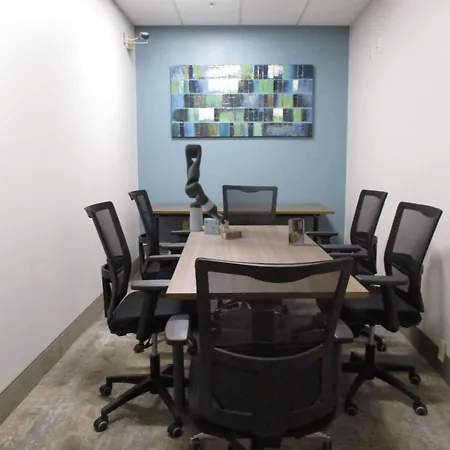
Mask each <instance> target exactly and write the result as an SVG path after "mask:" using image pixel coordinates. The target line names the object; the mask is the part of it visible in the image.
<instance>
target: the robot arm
mask: <svg viewBox="0 0 450 450" xmlns="http://www.w3.org/2000/svg"><path fill="white" fill-rule="evenodd" d="M202 154H203V149H202V145H201V144H197V143H195V144H191V143H190V144H186V145H185V146H184V155H185V162H186V177H187V180H186V183H185V186H184V191H185V195H187V196H188V198H189V199H195V201H194V202H191V203H190V204H189V231H192V232H201V231H202V232H203V230H204V219H203V217H204V216H203V210H204V212H205V213H206V214H207V215H208V216H210V217H211V218H214V219H216V220H218V221H220V224H221V223H222V224H223V225H224V224H225V223H226V222H225V221H224V218H225V216H224V214H223V213H220V212H219V211H218V206H217V205H216V204H215V203H214V202H213V200H212V199H210V198H209V197H208V196H207V194H205V191H204V189H203V186H202V185H201V183H199V181H200V177H201V168H200V167H201V162H202ZM193 159H195V161H194V160H193Z"/></svg>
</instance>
